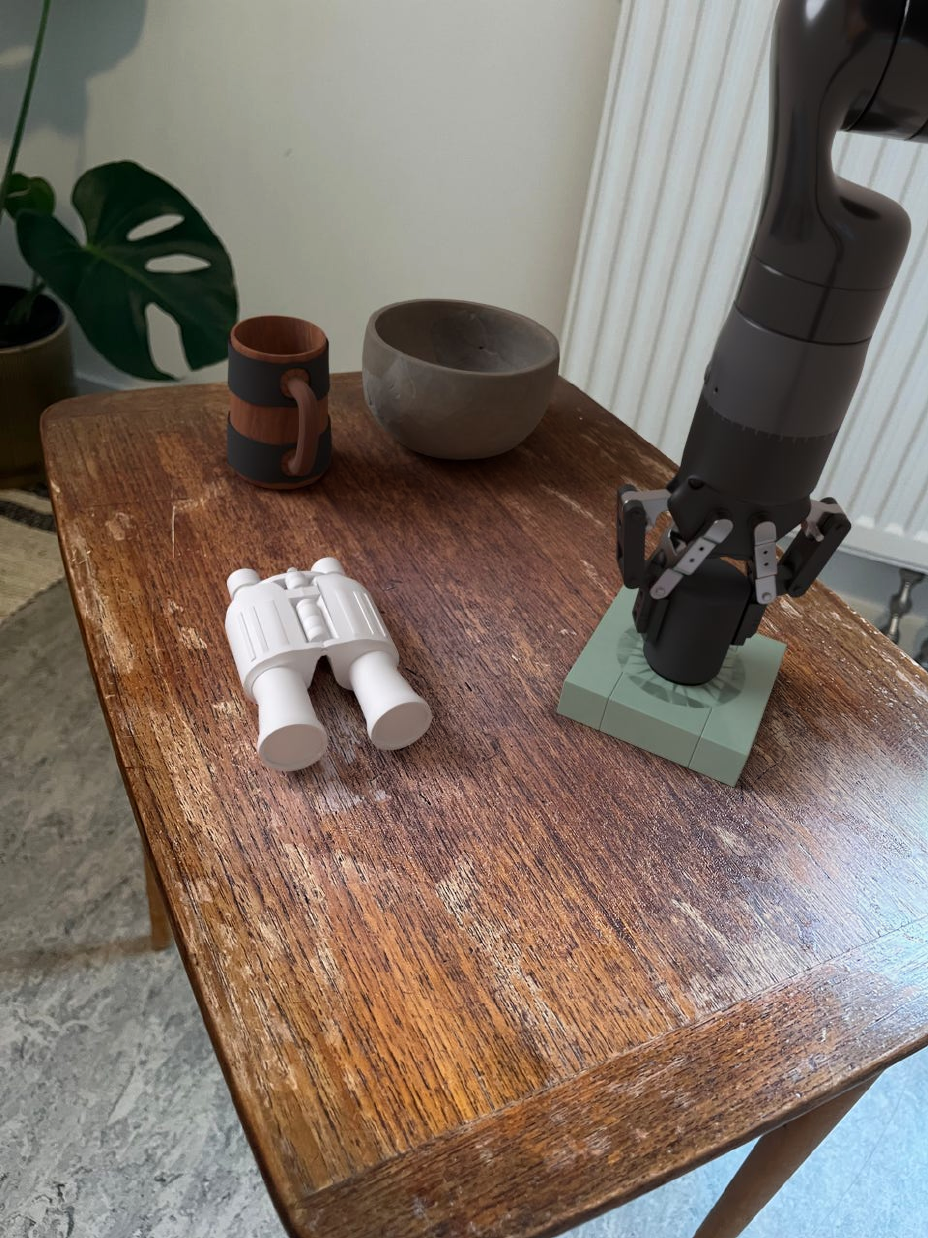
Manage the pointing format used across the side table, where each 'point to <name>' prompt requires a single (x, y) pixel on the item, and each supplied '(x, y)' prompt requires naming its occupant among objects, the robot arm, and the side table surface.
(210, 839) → the side table surface
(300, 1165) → the side table surface
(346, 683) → the binoculars
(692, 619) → the stopper
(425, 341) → the bowl
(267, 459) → the mug
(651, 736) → the green block with hole
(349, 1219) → the side table surface
